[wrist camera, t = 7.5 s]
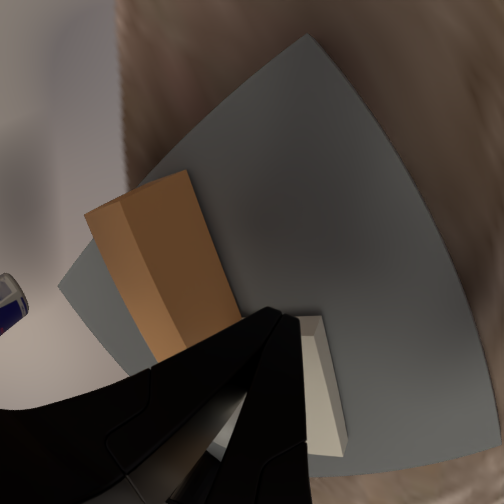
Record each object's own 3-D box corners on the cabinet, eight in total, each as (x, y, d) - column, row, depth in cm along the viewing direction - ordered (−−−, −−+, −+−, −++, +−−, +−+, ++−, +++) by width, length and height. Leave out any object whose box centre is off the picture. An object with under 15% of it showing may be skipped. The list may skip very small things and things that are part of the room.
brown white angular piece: (348, 439, 15) (331, 492, 12) (214, 421, 19) (189, 461, 16) (273, 143, 10) (220, 168, 7) (100, 201, 14) (43, 231, 11)
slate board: (241, 466, 25) (220, 504, 21) (66, 279, 21) (23, 311, 17) (500, 431, 12) (502, 495, 8) (314, 38, 9) (265, 4, 5)
